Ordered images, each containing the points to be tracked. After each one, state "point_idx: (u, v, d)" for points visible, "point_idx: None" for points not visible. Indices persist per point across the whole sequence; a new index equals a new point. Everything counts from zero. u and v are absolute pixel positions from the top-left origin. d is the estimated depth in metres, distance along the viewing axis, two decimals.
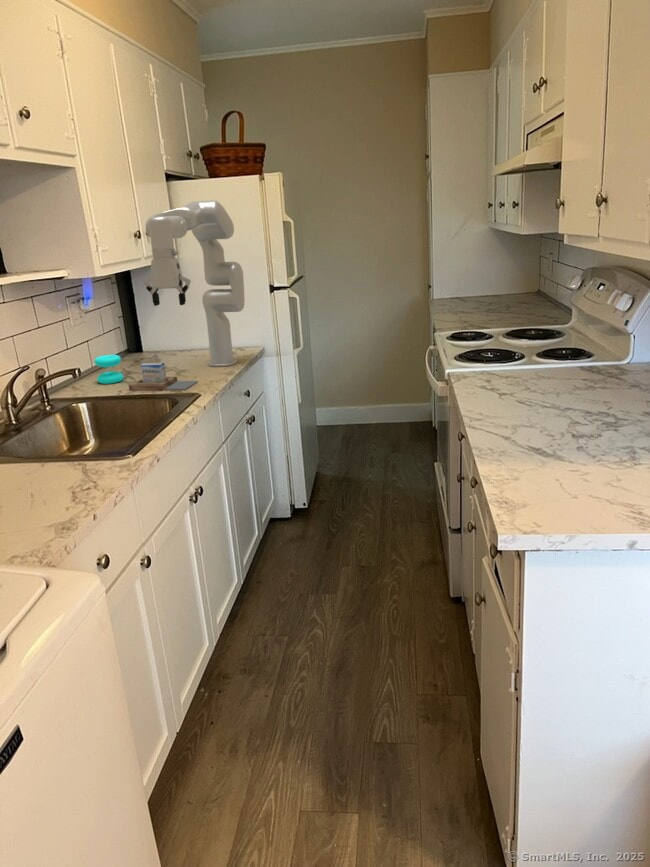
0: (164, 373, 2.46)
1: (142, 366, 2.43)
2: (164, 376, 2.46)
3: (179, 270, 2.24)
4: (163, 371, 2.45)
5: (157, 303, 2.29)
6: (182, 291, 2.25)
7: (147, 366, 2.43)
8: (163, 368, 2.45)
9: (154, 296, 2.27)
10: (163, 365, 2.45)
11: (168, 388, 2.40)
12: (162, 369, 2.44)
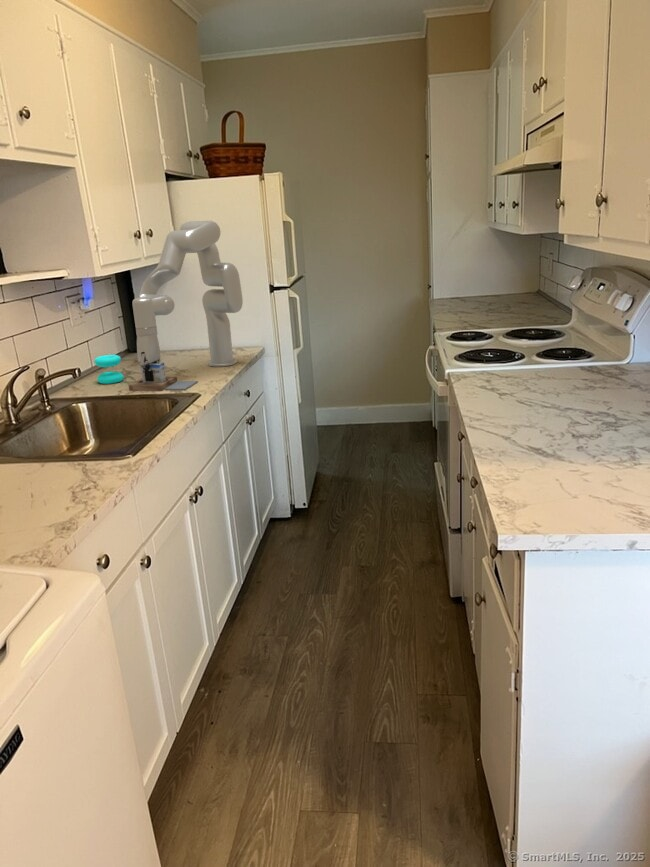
0: (164, 373, 2.46)
1: None
2: (164, 376, 2.46)
3: None
4: (163, 371, 2.45)
5: None
6: None
7: None
8: (163, 368, 2.45)
9: None
10: (163, 365, 2.45)
11: (168, 388, 2.40)
12: (162, 369, 2.44)
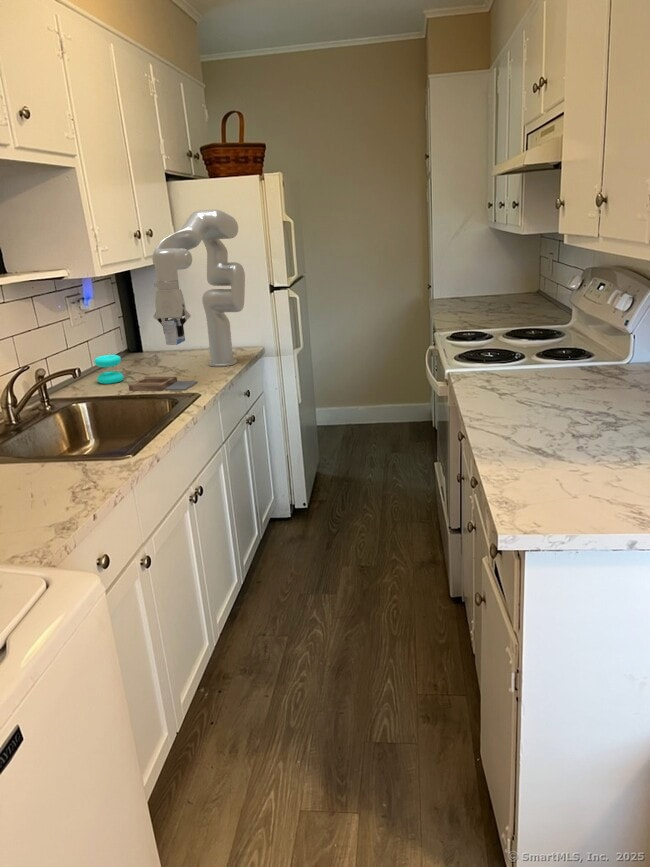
0: None
1: (174, 322, 2.35)
2: None
3: None
4: None
5: None
6: None
7: None
8: None
9: None
10: None
11: (168, 388, 2.40)
12: None
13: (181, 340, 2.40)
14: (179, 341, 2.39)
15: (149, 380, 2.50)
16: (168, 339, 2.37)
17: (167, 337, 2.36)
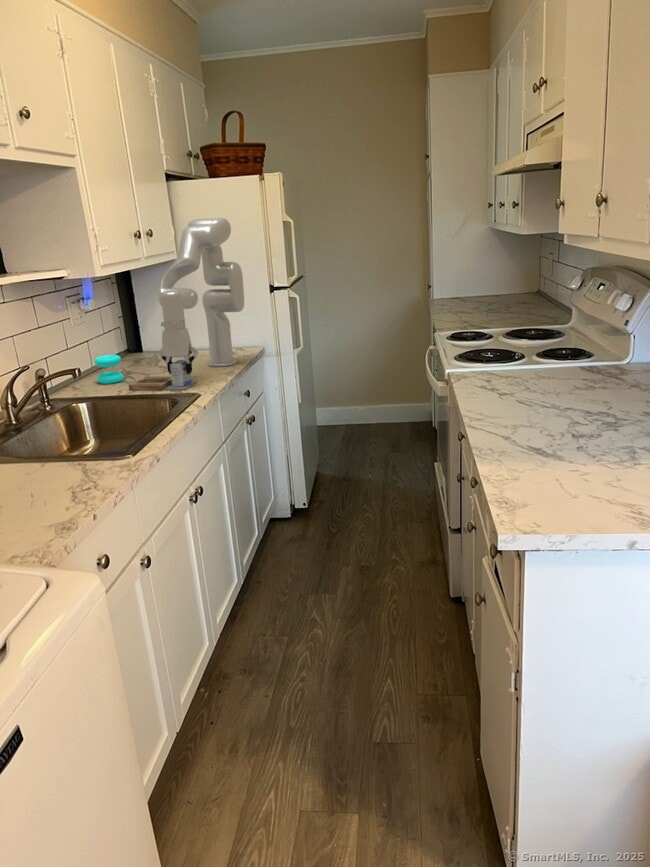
0: None
1: (181, 365, 2.40)
2: None
3: None
4: None
5: None
6: None
7: (183, 364, 2.41)
8: None
9: None
10: None
11: (168, 388, 2.40)
12: None
13: (187, 381, 2.45)
14: (185, 383, 2.43)
15: (149, 380, 2.50)
16: (174, 381, 2.41)
17: (173, 379, 2.41)
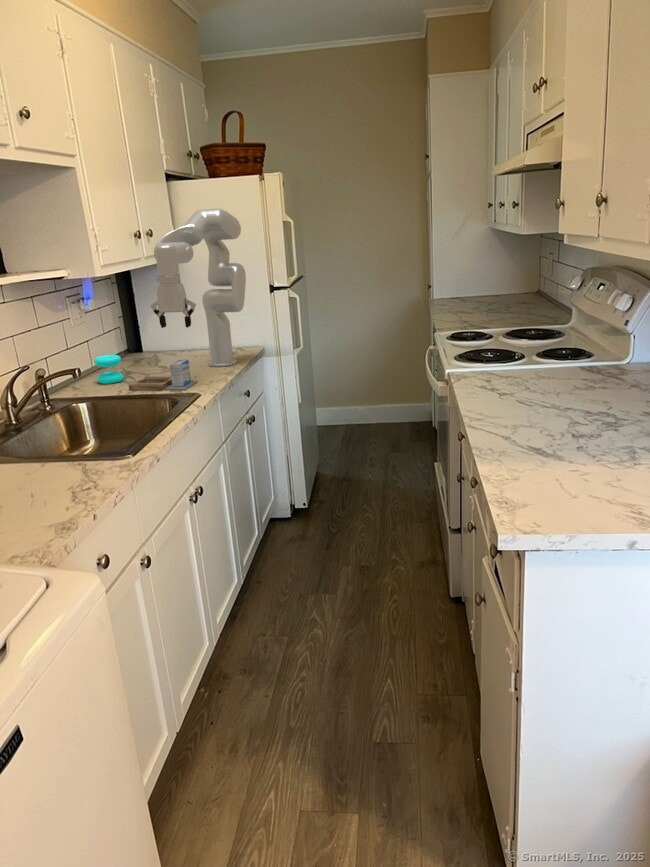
0: None
1: (181, 365, 2.40)
2: None
3: None
4: None
5: None
6: None
7: (183, 364, 2.41)
8: None
9: None
10: None
11: (168, 388, 2.40)
12: None
13: (187, 381, 2.45)
14: (185, 383, 2.43)
15: (149, 380, 2.50)
16: (174, 381, 2.41)
17: (173, 379, 2.41)
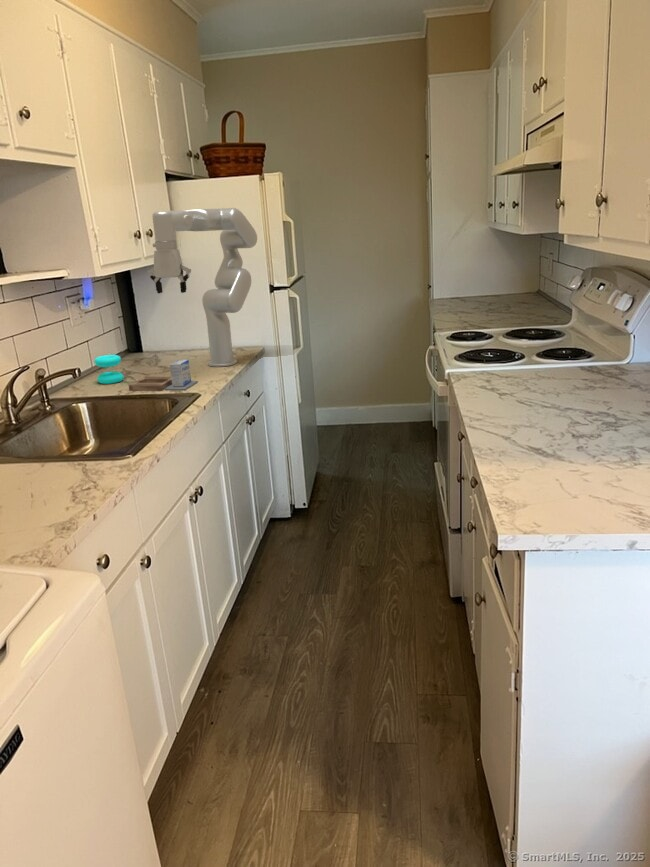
0: None
1: (181, 365, 2.40)
2: None
3: None
4: None
5: None
6: None
7: (183, 364, 2.41)
8: None
9: None
10: None
11: (168, 388, 2.40)
12: None
13: (187, 381, 2.45)
14: (185, 383, 2.43)
15: (149, 380, 2.50)
16: (174, 381, 2.41)
17: (173, 379, 2.41)
